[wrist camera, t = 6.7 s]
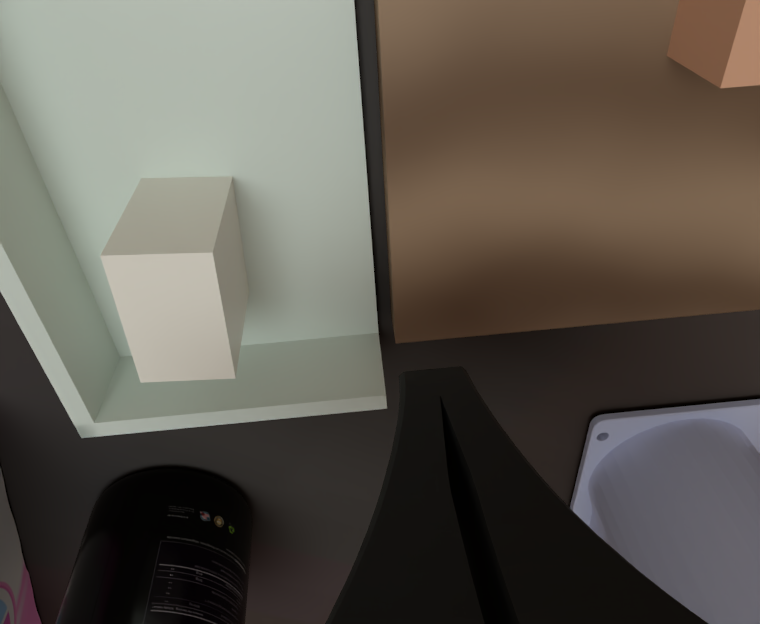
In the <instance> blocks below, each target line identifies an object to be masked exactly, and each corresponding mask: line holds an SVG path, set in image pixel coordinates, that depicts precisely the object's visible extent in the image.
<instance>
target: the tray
mask: <svg viewBox="0 0 760 624" xmlns="http://www.w3.org/2000/svg"><path fill="white" fill-rule="evenodd" d="M228 176H233V183H234V190H235V197H236V204H237V210H238V217H239V224H240V231H241V238H242V245H243V252H244V259H245V266H246V272H247V279H248V286H249V297H248V303H247V309H246V316H245V322H244V328H243V335H242V341H241V348H240V354H239V360H238V367H237V373H236V379H213V380H190V381H167V382H144V383H141V382H140V379H139V376H138V373H137V370H136V367H135V363H134V360H133V357H132V354H131V351H130V348H129V345H128V341H127V338H126V335H125V332H124V329H123V326H122V323H121V320H120V316H119V313H118V310H117V307H116V304H115V301H114V298H113V294H112V291H111V288H110V285H109V282H108V279H107V276H106V272H105V269H104V266H103V263H102V260H101V257H100V255H101V253H102V251H103V249H104V248H105V246H106V244H107V242H108V240H109V238H110V236H111V234H112V232H113V231H114V229H115V227H116V225H117V223H118V221H119V219H120V217H121V216H122V214H123V212H124V210H125V208H126V206H127V204H128V202H129V201H130V199H131V197H132V195H133V193H134V191H135V189H136V187H137V186H138V184H139V182H140V180H141V178H176V177H228ZM0 291H1V293H2V295H3V297H4V299H5V300H6V302H7V304H8V306H9V308H10V309H11V311H12V313H13V315H14V317H15V319H16V320H17V322H18V324H19V326H20V328H21V329H22V331H23V333H24V335H25V337H26V338H27V340H28V342H29V344H30V346H31V348H32V349H33V351H34V353H35V355H36V357H37V358H38V360H39V362H40V364H41V366H42V367H43V369H44V371H45V373H46V375H47V377H48V378H49V380H50V382H51V384H52V386H53V387H54V389H55V391H56V393H57V395H58V396H59V398H60V400H61V402H62V404H63V406H64V407H65V409H66V411H67V413H68V415H69V416H70V418H71V420H72V422H73V424H74V425H75V427H76V429H77V431H78V433H79V435H80V436H81V438H88V437H98V436H108V435H119V434H129V433H139V432H150V431H160V430H171V429H181V428H191V427H202V426H212V425H222V424H233V423H243V422H253V421H264V420H274V419H284V418H295V417H305V416H315V415H326V414H336V413H346V412H357V411H367V410H377V409H387V402H386V391H385V382H384V374H383V366H382V358H381V349H380V341H379V333H378V319H377V305H376V292H375V278H374V264H373V251H372V237H371V223H370V210H369V196H368V183H367V169H366V155H365V142H364V128H363V114H362V101H361V87H360V73H359V60H358V46H357V32H356V19H355V5H354V0H0Z"/></svg>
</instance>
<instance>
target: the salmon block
mask: <svg viewBox="0 0 760 624" xmlns="http://www.w3.org/2000/svg"><path fill="white" fill-rule="evenodd" d="M667 56H668V57H670V58H671V59H673V60H675V61H676V62H678V63H680V64H681V65H683V66H684V67H686V68H688V69H689V70H691V71H693V72H694V73H696V74H698V75H699V76H701V77H702V78H704V79H706V80H707V81H709V82H711V83H712V84H714V85H716V86H717V87H719V88H731V87H743V86H755V85H760V0H679V4H678V8H677V13H676V17H675V21H674V26H673V30H672V35H671V39H670V43H669V48H668V52H667Z"/></svg>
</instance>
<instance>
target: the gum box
mask: <svg viewBox="0 0 760 624" xmlns="http://www.w3.org/2000/svg"><path fill="white" fill-rule="evenodd" d="M0 624H41V620H40V617H39V615H38V612H37V609H36V605H35V601H34V596H33V589H32V585H31V581H30V577H29V572H28V571H27V569H26V566H25V563H24V559H23V555H22V551H21V545H20V540H19V536H18V532H17V529H16V525H15V521H14V518H13V516H12V513H11V510H10V506H9V503H8V499H7V495H6V489H5V484H4V480H3V476H2V472H1V468H0Z"/></svg>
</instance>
